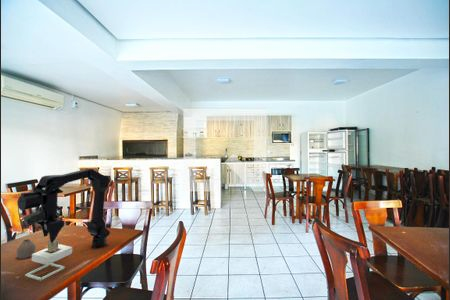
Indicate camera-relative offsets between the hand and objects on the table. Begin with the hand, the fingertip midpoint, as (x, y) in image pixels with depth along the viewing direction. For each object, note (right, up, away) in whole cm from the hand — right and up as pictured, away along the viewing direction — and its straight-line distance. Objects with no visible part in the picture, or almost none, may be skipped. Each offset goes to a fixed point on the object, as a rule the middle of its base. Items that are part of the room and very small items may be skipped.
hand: (48, 239), depth 98 cm
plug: (-6, -13, +10) cm, 17 cm away
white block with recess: (-6, -13, +10) cm, 17 cm away
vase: (-18, -13, +9) cm, 24 cm away
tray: (+1, -14, -3) cm, 14 cm away
